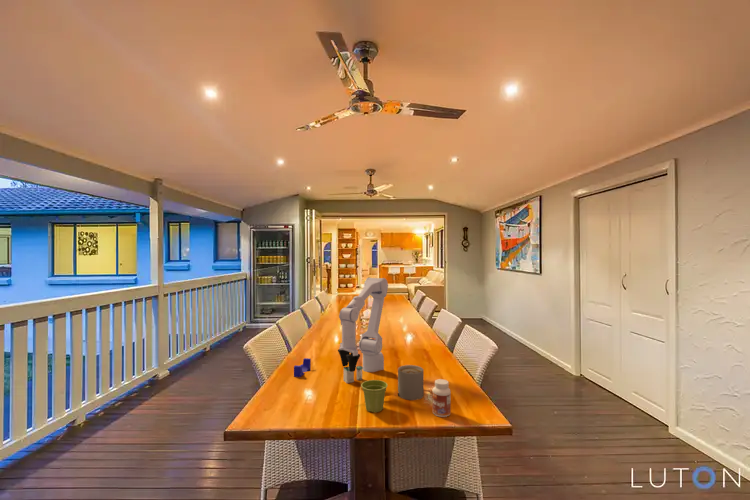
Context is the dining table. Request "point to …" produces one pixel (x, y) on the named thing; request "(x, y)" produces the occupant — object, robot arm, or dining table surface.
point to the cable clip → (302, 368)
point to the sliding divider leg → (348, 375)
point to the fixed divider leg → (359, 372)
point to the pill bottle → (441, 398)
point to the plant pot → (374, 394)
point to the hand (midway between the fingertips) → (348, 368)
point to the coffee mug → (410, 382)
